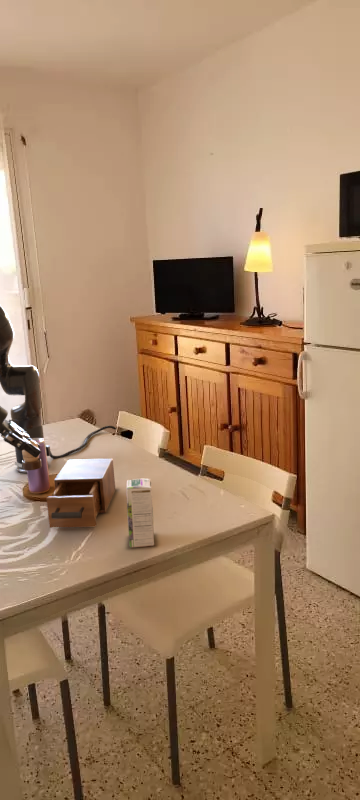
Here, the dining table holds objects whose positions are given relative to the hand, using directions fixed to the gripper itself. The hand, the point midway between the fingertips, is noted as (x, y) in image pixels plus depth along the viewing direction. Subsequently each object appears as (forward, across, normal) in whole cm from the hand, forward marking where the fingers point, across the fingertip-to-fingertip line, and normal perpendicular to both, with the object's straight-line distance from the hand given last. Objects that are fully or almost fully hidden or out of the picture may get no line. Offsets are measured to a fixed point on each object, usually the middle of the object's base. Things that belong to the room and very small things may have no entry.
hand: (38, 451), depth 161 cm
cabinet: (+19, 0, +3) cm, 20 cm away
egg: (+2, 0, +4) cm, 5 cm away
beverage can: (+11, +13, +12) cm, 21 cm away
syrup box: (+26, -29, -4) cm, 39 cm away
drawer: (+16, -12, +5) cm, 21 cm away
